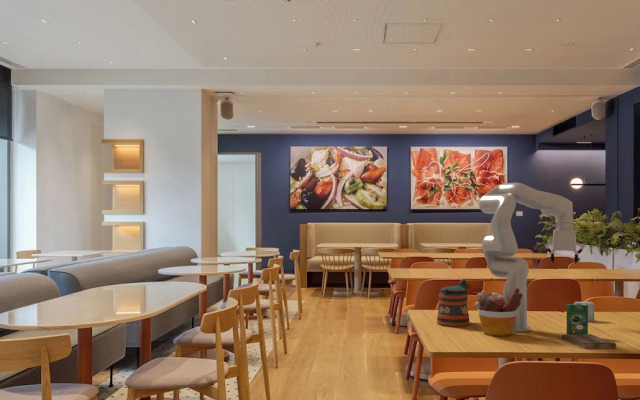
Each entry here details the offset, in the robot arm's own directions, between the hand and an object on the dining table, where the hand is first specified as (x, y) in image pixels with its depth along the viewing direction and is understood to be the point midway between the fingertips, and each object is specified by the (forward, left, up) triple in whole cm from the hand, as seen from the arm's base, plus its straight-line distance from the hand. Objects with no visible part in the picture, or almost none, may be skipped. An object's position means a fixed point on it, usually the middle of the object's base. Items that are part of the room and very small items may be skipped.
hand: (564, 262), depth 263 cm
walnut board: (-13, -45, -28) cm, 54 cm away
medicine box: (+11, +3, -28) cm, 30 cm away
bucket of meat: (-41, -26, -28) cm, 56 cm away
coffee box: (-10, -32, -28) cm, 44 cm away
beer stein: (-52, -1, -28) cm, 59 cm away
